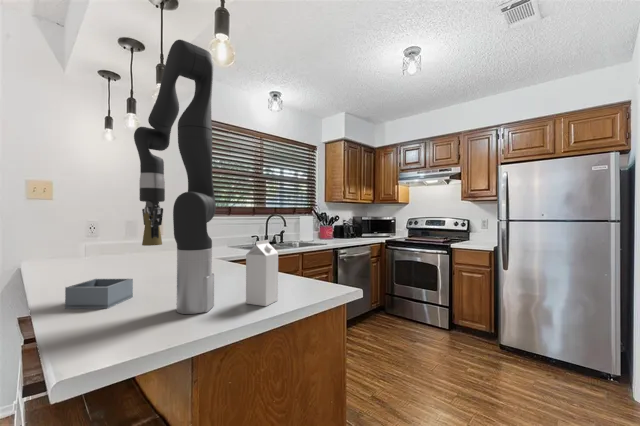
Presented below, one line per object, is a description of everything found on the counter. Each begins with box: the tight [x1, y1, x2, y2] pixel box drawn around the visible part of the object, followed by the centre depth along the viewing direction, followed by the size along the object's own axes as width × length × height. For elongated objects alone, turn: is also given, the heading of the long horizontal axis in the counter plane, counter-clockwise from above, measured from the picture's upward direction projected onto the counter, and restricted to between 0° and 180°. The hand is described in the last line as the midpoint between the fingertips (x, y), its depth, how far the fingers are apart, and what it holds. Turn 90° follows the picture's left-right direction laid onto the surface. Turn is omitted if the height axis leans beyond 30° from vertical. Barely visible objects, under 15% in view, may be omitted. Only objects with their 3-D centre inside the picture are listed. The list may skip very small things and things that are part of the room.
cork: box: [141, 213, 163, 247], centre depth 104 cm, size 6×6×11 cm
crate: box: [64, 278, 134, 310], centre depth 94 cm, size 12×12×6 cm
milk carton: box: [245, 239, 279, 307], centre depth 94 cm, size 7×7×19 cm
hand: (152, 238), depth 104 cm, fingers closed on cork, 4 cm apart
